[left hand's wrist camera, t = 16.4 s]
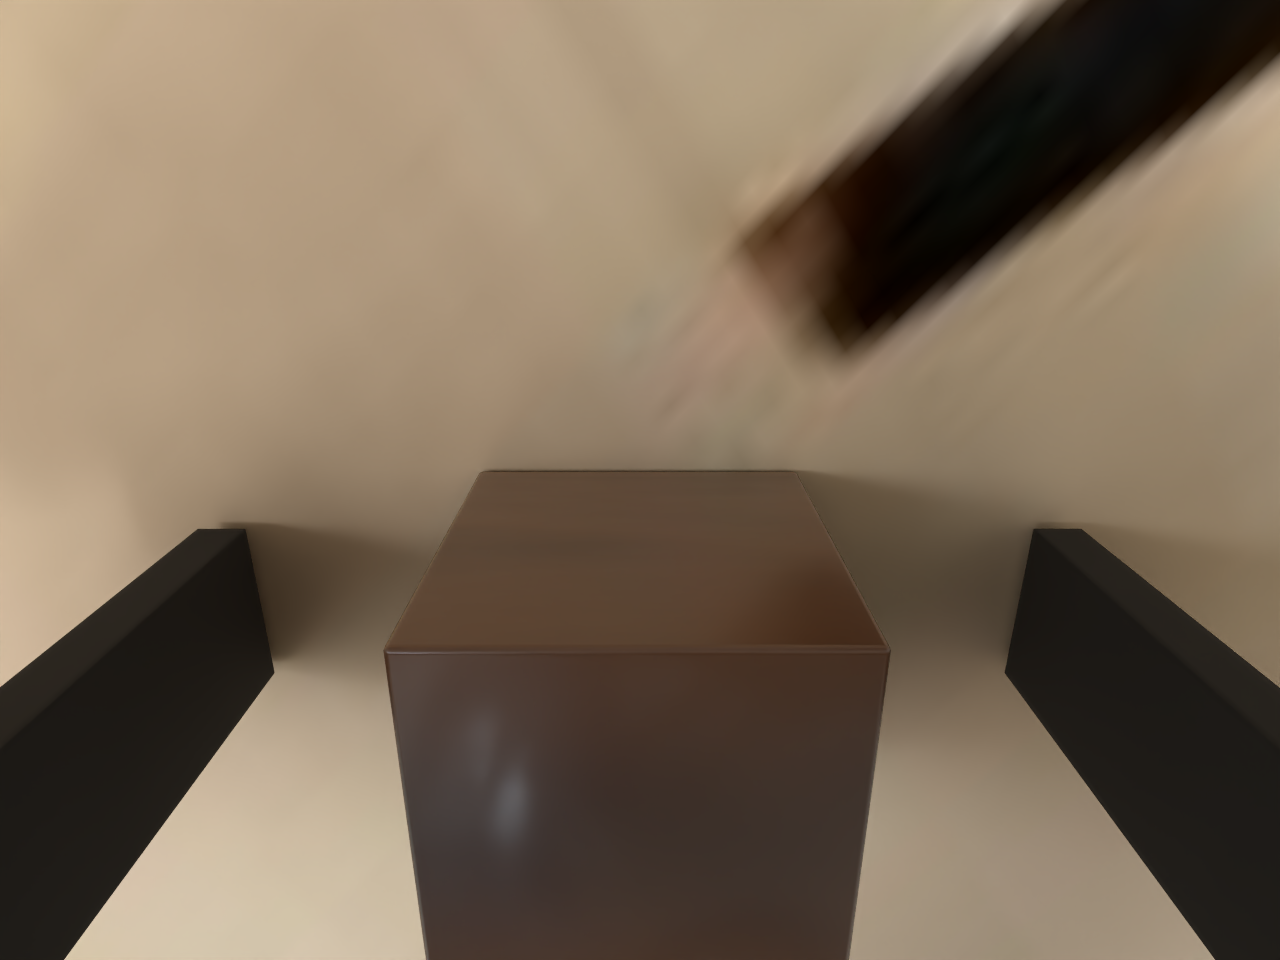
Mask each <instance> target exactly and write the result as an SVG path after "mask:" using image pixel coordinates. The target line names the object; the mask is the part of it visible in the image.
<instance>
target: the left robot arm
mask: <svg viewBox="0 0 1280 960" xmlns="http://www.w3.org/2000/svg"><path fill="white" fill-rule="evenodd" d="M273 674H274V668H273V663H272V658H271V653H270V648H269V643H268V638H267V633H266V629H265V624H264V619H263V614H262V609H261V604H260V599H259V594H258V589H257V584H256V579H255V574H254V569H253V564H252V559H251V554H250V549H249V544H248V540H247V535H246V530H245V529H197V530H196V531H195V532H194V533H192V534H191V535H190V536H189V537H187V538H186V539H185V540H184V541H182V542H181V543H180V544H179V545H177V546H176V547H175V548H174V549H172V550H171V551H170V552H169V553H167V554H166V555H165V556H164V557H162V558H161V559H160V560H159V561H157V562H156V563H155V564H154V565H152V566H151V567H150V568H149V569H147V570H146V571H145V572H144V573H142V574H141V575H140V576H139V577H137V578H136V579H135V580H134V581H132V582H131V583H130V584H129V585H127V586H126V587H125V588H124V589H122V590H121V591H120V592H119V593H117V594H116V595H115V596H114V597H112V598H111V599H110V600H109V601H107V602H106V603H105V604H104V605H102V606H101V607H100V608H99V609H97V610H96V611H95V612H94V613H92V614H91V615H90V616H89V617H87V618H86V619H85V620H84V621H82V622H81V623H80V624H79V625H77V626H76V627H75V628H74V629H72V630H71V631H70V632H69V633H67V634H66V635H65V636H64V637H62V638H61V639H60V640H59V641H57V642H56V643H55V644H54V645H52V646H51V647H50V648H49V649H47V650H46V651H45V652H44V653H42V654H41V655H40V656H39V657H37V658H36V659H35V660H34V661H32V662H31V663H30V664H29V665H27V666H26V667H25V668H24V669H22V670H21V671H20V672H19V673H17V674H16V675H15V676H14V677H12V678H11V679H10V680H9V681H7V682H6V683H5V684H4V685H2V686H1V687H0V960H64V959H65V958H66V956H67V955H68V954H69V952H70V951H71V949H72V948H73V947H74V945H75V944H76V943H77V941H78V940H79V939H80V937H81V936H82V934H83V933H84V932H85V930H86V929H87V928H88V926H89V925H90V924H91V922H92V921H93V919H94V918H95V917H96V915H97V914H98V913H99V911H100V910H101V909H102V907H103V906H104V904H105V903H106V902H107V900H108V899H109V898H110V896H111V895H112V894H113V892H114V891H115V889H116V888H117V887H118V885H119V884H120V883H121V881H122V880H123V879H124V877H125V876H126V874H127V873H128V872H129V870H130V869H131V868H132V866H133V865H134V864H135V862H136V861H137V859H138V858H139V857H140V855H141V854H142V853H143V851H144V850H145V849H146V847H147V846H148V844H149V843H150V842H151V840H152V839H153V838H154V836H155V835H156V834H157V832H158V831H159V829H160V828H161V827H162V825H163V824H164V823H165V821H166V820H167V819H168V817H169V816H170V815H171V813H172V812H173V810H174V809H175V808H176V806H177V805H178V804H179V802H180V801H181V800H182V798H183V797H184V795H185V794H186V793H187V791H188V790H189V789H190V787H191V786H192V785H193V783H194V782H195V780H196V779H197V778H198V776H199V775H200V774H201V772H202V771H203V770H204V768H205V767H206V765H207V764H208V763H209V761H210V760H211V759H212V757H213V756H214V755H215V753H216V752H217V750H218V749H219V748H220V746H221V745H222V744H223V742H224V741H225V740H226V738H227V737H228V735H229V734H230V733H231V731H232V730H233V729H234V727H235V726H236V725H237V723H238V722H239V720H240V719H241V718H242V716H243V715H244V714H245V712H246V711H247V710H248V708H249V707H250V705H251V704H252V703H253V701H254V700H255V699H256V697H257V696H258V695H259V693H260V692H261V690H262V689H263V688H264V686H265V685H266V684H267V682H268V681H269V680H270V678H271V677H272V675H273ZM1005 674H1006V675H1007V677H1008V678H1009V679H1010V681H1011V682H1012V683H1013V685H1014V686H1015V687H1016V689H1017V690H1018V691H1019V693H1020V694H1021V696H1022V697H1023V698H1024V700H1025V701H1026V702H1027V704H1028V705H1029V706H1030V708H1031V709H1032V711H1033V712H1034V713H1035V715H1036V716H1037V717H1038V719H1039V720H1040V721H1041V723H1042V724H1043V726H1044V727H1045V728H1046V730H1047V731H1048V732H1049V734H1050V735H1051V736H1052V738H1053V739H1054V741H1055V742H1056V743H1057V745H1058V746H1059V747H1060V749H1061V750H1062V751H1063V753H1064V754H1065V756H1066V757H1067V758H1068V760H1069V761H1070V762H1071V764H1072V765H1073V766H1074V768H1075V769H1076V771H1077V772H1078V773H1079V775H1080V776H1081V777H1082V779H1083V780H1084V781H1085V783H1086V784H1087V786H1088V787H1089V788H1090V790H1091V791H1092V792H1093V794H1094V795H1095V796H1096V798H1097V799H1098V801H1099V802H1100V803H1101V805H1102V806H1103V807H1104V809H1105V810H1106V811H1107V813H1108V814H1109V816H1110V817H1111V818H1112V820H1113V821H1114V822H1115V824H1116V825H1117V826H1118V828H1119V829H1120V831H1121V832H1122V833H1123V835H1124V836H1125V837H1126V839H1127V840H1128V841H1129V843H1130V844H1131V846H1132V847H1133V848H1134V850H1135V851H1136V852H1137V854H1138V855H1139V856H1140V858H1141V859H1142V861H1143V862H1144V863H1145V865H1146V866H1147V867H1148V869H1149V870H1150V871H1151V873H1152V874H1153V876H1154V877H1155V878H1156V880H1157V881H1158V882H1159V884H1160V885H1161V886H1162V888H1163V889H1164V891H1165V892H1166V893H1167V895H1168V896H1169V897H1170V899H1171V900H1172V901H1173V903H1174V904H1175V906H1176V907H1177V908H1178V910H1179V911H1180V912H1181V914H1182V915H1183V916H1184V918H1185V919H1186V921H1187V922H1188V923H1189V925H1190V926H1191V927H1192V929H1193V930H1194V931H1195V933H1196V934H1197V936H1198V937H1199V938H1200V940H1201V941H1202V942H1203V944H1204V945H1205V946H1206V948H1207V949H1208V951H1209V952H1210V953H1211V955H1212V956H1213V957H1214V959H1215V960H1280V688H1279V687H1278V686H1277V685H1275V684H1274V683H1273V682H1272V681H1270V680H1269V679H1268V678H1267V677H1265V676H1264V675H1263V674H1262V673H1260V672H1259V671H1258V670H1257V669H1255V668H1254V667H1253V666H1252V665H1250V664H1249V663H1248V662H1247V661H1245V660H1244V659H1243V658H1242V657H1240V656H1239V655H1238V654H1237V653H1235V652H1234V651H1233V650H1232V649H1230V648H1229V647H1228V646H1227V645H1225V644H1224V643H1223V642H1222V641H1220V640H1219V639H1218V638H1217V637H1215V636H1214V635H1213V634H1212V633H1210V632H1209V631H1208V630H1207V629H1205V628H1204V627H1203V626H1202V625H1200V624H1199V623H1198V622H1197V621H1195V620H1194V619H1193V618H1192V617H1190V616H1189V615H1188V614H1187V613H1185V612H1184V611H1183V610H1182V609H1180V608H1179V607H1178V606H1177V605H1176V604H1174V603H1173V602H1172V601H1171V600H1169V599H1168V598H1167V597H1166V596H1164V595H1163V594H1162V593H1161V592H1159V591H1158V590H1157V589H1156V588H1154V587H1153V586H1152V585H1151V584H1149V583H1148V582H1147V581H1146V580H1144V579H1143V578H1142V577H1141V576H1139V575H1138V574H1137V573H1136V572H1134V571H1133V570H1132V569H1131V568H1129V567H1128V566H1127V565H1126V564H1124V563H1123V562H1122V561H1121V560H1119V559H1118V558H1117V557H1116V556H1114V555H1113V554H1112V553H1111V552H1109V551H1108V550H1107V549H1106V548H1104V547H1103V546H1102V545H1101V544H1099V543H1098V542H1097V541H1096V540H1094V539H1093V538H1092V537H1091V536H1089V535H1088V534H1087V533H1086V532H1084V531H1083V530H1082V529H1034V530H1033V535H1032V540H1031V545H1030V550H1029V555H1028V560H1027V565H1026V570H1025V575H1024V580H1023V585H1022V590H1021V595H1020V600H1019V604H1018V609H1017V614H1016V619H1015V624H1014V629H1013V634H1012V639H1011V644H1010V649H1009V654H1008V659H1007V664H1006V669H1005Z"/></svg>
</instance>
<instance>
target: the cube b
mask: <svg viewBox="0 0 1280 960" xmlns="http://www.w3.org/2000/svg"><path fill="white" fill-rule="evenodd" d="M890 652H891V650H890V648H889V645H888V643H887V641H886V640H885V638H884V636H883V634H882V632H881V630H880V628H879V626H878V625H877V623H876V621H875V619H874V617H873V615H872V613H871V612H870V610H869V608H868V606H867V604H866V602H865V600H864V598H863V597H862V595H861V593H860V591H859V589H858V587H857V585H856V583H855V582H854V580H853V578H852V576H851V574H850V572H849V570H848V569H847V567H846V565H845V563H844V561H843V559H842V557H841V555H840V554H839V552H838V550H837V548H836V546H835V544H834V542H833V541H832V539H831V537H830V535H829V533H828V531H827V529H826V527H825V526H824V524H823V522H822V520H821V518H820V516H819V514H818V512H817V511H816V509H815V507H814V505H813V503H812V501H811V499H810V498H809V496H808V494H807V492H806V490H805V488H804V486H803V484H802V483H801V481H800V479H799V477H798V475H797V473H794V472H482V473H480V474H479V475H478V477H477V479H476V481H475V483H474V485H473V486H472V488H471V490H470V492H469V494H468V495H467V497H466V499H465V501H464V503H463V505H462V506H461V508H460V510H459V512H458V514H457V516H456V517H455V519H454V521H453V523H452V525H451V527H450V528H449V530H448V532H447V534H446V536H445V538H444V539H443V541H442V543H441V545H440V547H439V549H438V550H437V552H436V554H435V556H434V558H433V560H432V561H431V563H430V565H429V567H428V569H427V571H426V572H425V574H424V576H423V578H422V580H421V581H420V583H419V585H418V587H417V589H416V591H415V592H414V594H413V596H412V598H411V600H410V602H409V603H408V605H407V607H406V609H405V611H404V613H403V614H402V616H401V618H400V620H399V622H398V624H397V625H396V627H395V629H394V631H393V633H392V635H391V636H390V638H389V640H388V642H387V644H386V646H385V648H384V657H385V665H386V672H387V679H388V686H389V694H390V701H391V708H392V716H393V723H394V730H395V737H396V745H397V752H398V759H399V766H400V774H401V781H402V788H403V795H404V803H405V810H406V817H407V825H408V832H409V839H410V846H411V854H412V861H413V868H414V875H415V883H416V890H417V897H418V904H419V912H420V919H421V926H422V934H423V941H424V948H425V955H426V960H849V955H850V948H851V940H852V933H853V925H854V918H855V911H856V903H857V896H858V888H859V881H860V874H861V866H862V859H863V852H864V844H865V837H866V829H867V822H868V815H869V807H870V800H871V792H872V785H873V778H874V770H875V763H876V755H877V748H878V741H879V733H880V726H881V719H882V711H883V704H884V696H885V689H886V682H887V674H888V667H889V659H890Z"/></svg>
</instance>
